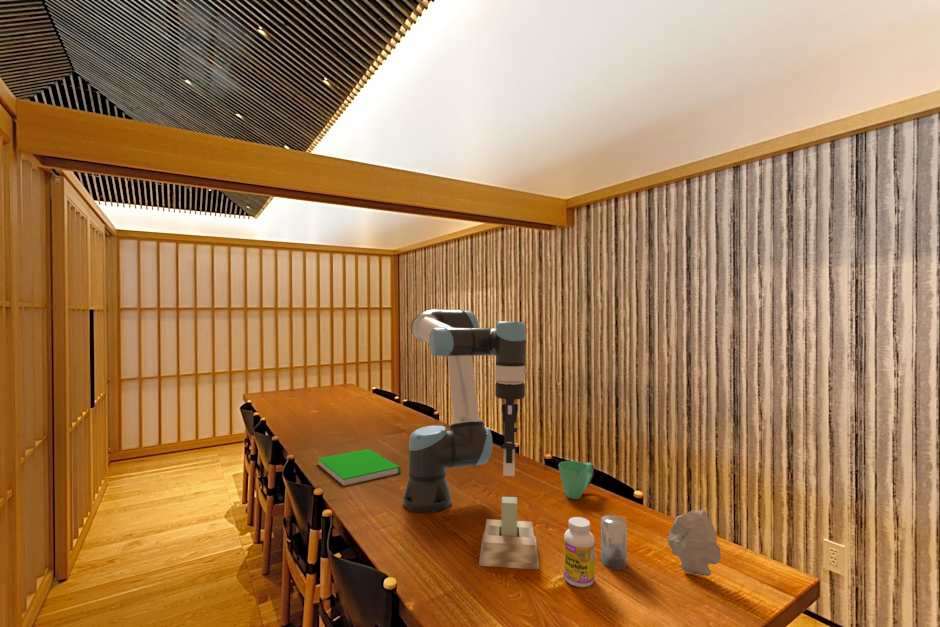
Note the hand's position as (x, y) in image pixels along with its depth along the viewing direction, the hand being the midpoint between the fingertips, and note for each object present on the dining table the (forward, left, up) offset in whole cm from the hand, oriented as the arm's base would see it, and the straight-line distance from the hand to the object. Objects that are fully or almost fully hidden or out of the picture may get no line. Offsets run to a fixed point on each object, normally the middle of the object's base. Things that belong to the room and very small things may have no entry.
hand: (509, 465), depth 107 cm
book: (-59, +53, -22) cm, 82 cm away
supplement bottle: (+16, -11, -21) cm, 29 cm away
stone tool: (+42, -6, -21) cm, 48 cm away
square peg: (0, -1, -20) cm, 20 cm away
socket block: (0, -1, -21) cm, 21 cm away
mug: (+23, +38, -21) cm, 49 cm away
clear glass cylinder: (+25, -3, -21) cm, 33 cm away
